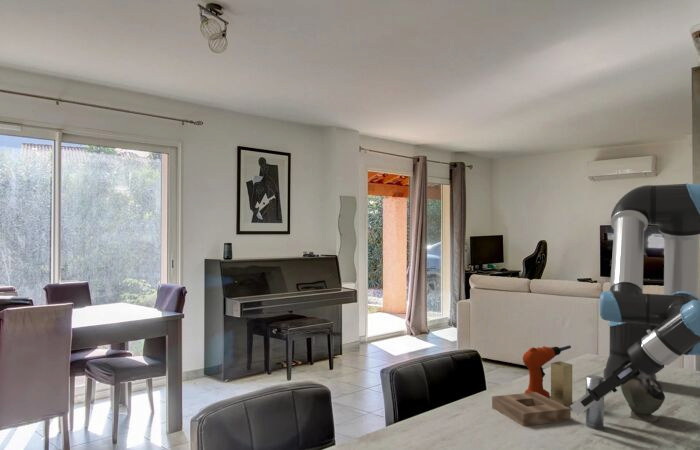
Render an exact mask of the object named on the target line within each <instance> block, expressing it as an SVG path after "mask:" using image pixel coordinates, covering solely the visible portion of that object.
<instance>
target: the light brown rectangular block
mask: <svg viewBox="0 0 700 450" xmlns="http://www.w3.org/2000/svg"><path fill="white" fill-rule="evenodd" d="M550 399H551V400H554V401H556V402H558V403H560V404H562V405H564V406H566V407H567V406H571V405H572V404H573V364H572V363H569V362H564V361H561V360H560V361H555V362H550Z"/></svg>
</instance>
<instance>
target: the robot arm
mask: <svg viewBox="0 0 700 450" xmlns="http://www.w3.org/2000/svg"><path fill="white" fill-rule="evenodd" d="M649 225H651V226H658V231H659V233H661V234H662V235H663V236H664V239H663V240H664V247H663V249H664V250H663V251H664V254H663V255H664V256H663V257H664V258H663V265H664V267H663V294H659V293H658V294H657V293H644V242H645V238H644V237H645V231H646V230H647V228H648V226H649ZM610 227H611V229H613V238H612V239H613V242H612V254H611V255H612V258H611V269H610V282H609V283H610V284H609V285H610V286H609V290H606V291H605V290H603V291H601V293H600V295H599V316H600V318H601V319H602V320H603V321H608V322H609V324H608V326H609V355H608V358H607V362H606V365H605V368H604V369H603V378H604V381H603V382H602V383H601V384H599V385H598V386H597V387H595V388H594V389H593V390H590V389H589V388H588V389H587V391H588V393H587V394H586V393H585V394H584V395H583V396H581V397H580V398H579V399H577V400H576V401H574V402H572V404H570V405H569V408H570V409H571V410H573V412H574V413H575V414H576V416H577V417H579V415H581V414H583V412H586V409H588V408H589V407H591V406H592V405H593V404H595V403H596V402H597V401H599V400H600V398H602V397H603V396H604V398H605V397H606V396H608V395H609V394H610V393H612V392H613V393H614V394H615V393H617V391H618V389H617V388H618V387H619V386H621V385H624V384H625V383H626V382H628V381H629V380H631V379H634V378H635V377H637V376H638V375H639V374H641V373H640V372H644V373H645V374H647V375H650V376H652V377H653V378H654V379H655V380H656V381H657V382H658V380H657V375H656V374H657V373H659V372H661V371H662V370H663V369H664V368H665V366H669V365H671V364H672V363H674V361H676V360H678V359H679V358H681V357H682V355H684V356H700V299H699V297H698V295H699V294H698V293H699V292H698V291H699V290H698V289H699V288H698V287H699V260H700V259H699V257H700V256H699V255H700V254H699V253H700V183H677V184H676V183H675V184H674V183H673V184H656V185H655V184H654V185H653V184H647V185H641V186H638V187H635V188H632V189H631V190H630V191H628V192H627V193H625V194H624V195H623V196H622V197H621V198H620V199H619V200H618V202H617V203H616V204H615V206H614V207H613V209H612V212H611V215H610Z"/></svg>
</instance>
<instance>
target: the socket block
mask: <svg viewBox="0 0 700 450" xmlns="http://www.w3.org/2000/svg"><path fill="white" fill-rule="evenodd" d="M491 408H493V409H494V410H496V411H498V412H499V413H501V414H503V415H505V416H506V417H508V418H509V419H511V420H513V422H516V423H517V424H520V425H521V426H522V427H526V426H535V425H543V424H549V423H551V424H553V423H559V422H567V421H568V422H569V421H571V418H572V417H571V415H572V414H571V413H572V412H571V410H572V408H571V407H569V406H567V405H566V406H564V405H562V404H560V403H558V402H556V401H554V400H551V398H550V397H549V398H547V397H545V396H543V395H541V394H539V393H537V392H532V393H525V392H524V393H514V394H513V393H512V394H505V395H504V394H503V395H502V394H501V395H494V396H492V397H491Z"/></svg>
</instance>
